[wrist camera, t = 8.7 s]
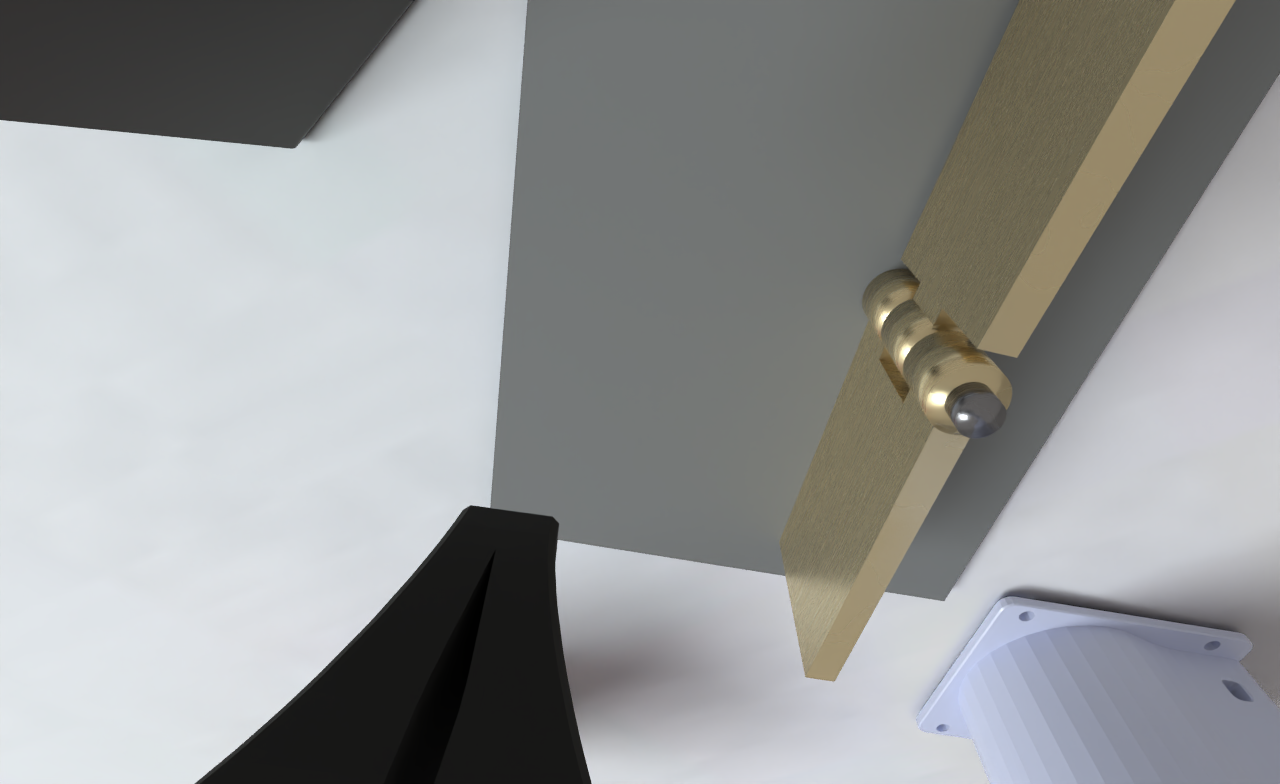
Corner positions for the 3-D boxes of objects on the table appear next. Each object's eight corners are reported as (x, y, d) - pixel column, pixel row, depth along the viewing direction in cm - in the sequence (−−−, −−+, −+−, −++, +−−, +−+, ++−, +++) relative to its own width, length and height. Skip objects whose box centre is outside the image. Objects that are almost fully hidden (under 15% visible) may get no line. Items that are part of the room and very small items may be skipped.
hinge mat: (1408, -166, 12) (1434, -172, 12) (939, 590, 23) (944, 601, 23) (560, -370, 11) (555, -385, 11) (492, 518, 22) (488, 528, 22)
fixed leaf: (875, 263, 16) (958, 375, 12) (936, 275, 16) (1042, 390, 12) (767, 540, 22) (794, 695, 17) (814, 547, 22) (854, 704, 17)
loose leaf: (912, 336, 17) (986, 442, 13) (855, 323, 17) (911, 426, 13) (1145, -125, 12) (1382, -183, 8) (1064, -149, 12) (1264, -219, 8)
